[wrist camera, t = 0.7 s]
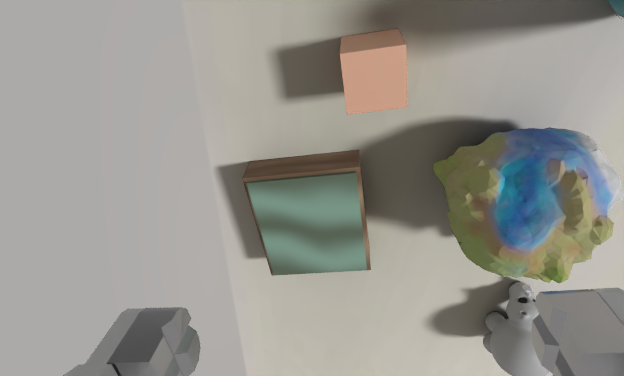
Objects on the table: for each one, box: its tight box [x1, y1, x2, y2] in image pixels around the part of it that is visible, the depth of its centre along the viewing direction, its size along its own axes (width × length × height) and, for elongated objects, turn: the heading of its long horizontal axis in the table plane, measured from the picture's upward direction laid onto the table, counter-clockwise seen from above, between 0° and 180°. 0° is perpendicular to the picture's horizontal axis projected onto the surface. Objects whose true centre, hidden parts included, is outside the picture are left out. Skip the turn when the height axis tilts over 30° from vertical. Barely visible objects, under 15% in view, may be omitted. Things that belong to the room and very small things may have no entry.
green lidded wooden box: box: [242, 150, 371, 275], centre depth 43 cm, size 14×12×4 cm
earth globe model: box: [433, 128, 624, 283], centre depth 35 cm, size 14×16×15 cm
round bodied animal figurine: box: [483, 282, 550, 376], centre depth 48 cm, size 7×12×8 cm, turn 179°
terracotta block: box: [340, 29, 408, 115], centre depth 33 cm, size 5×5×6 cm
